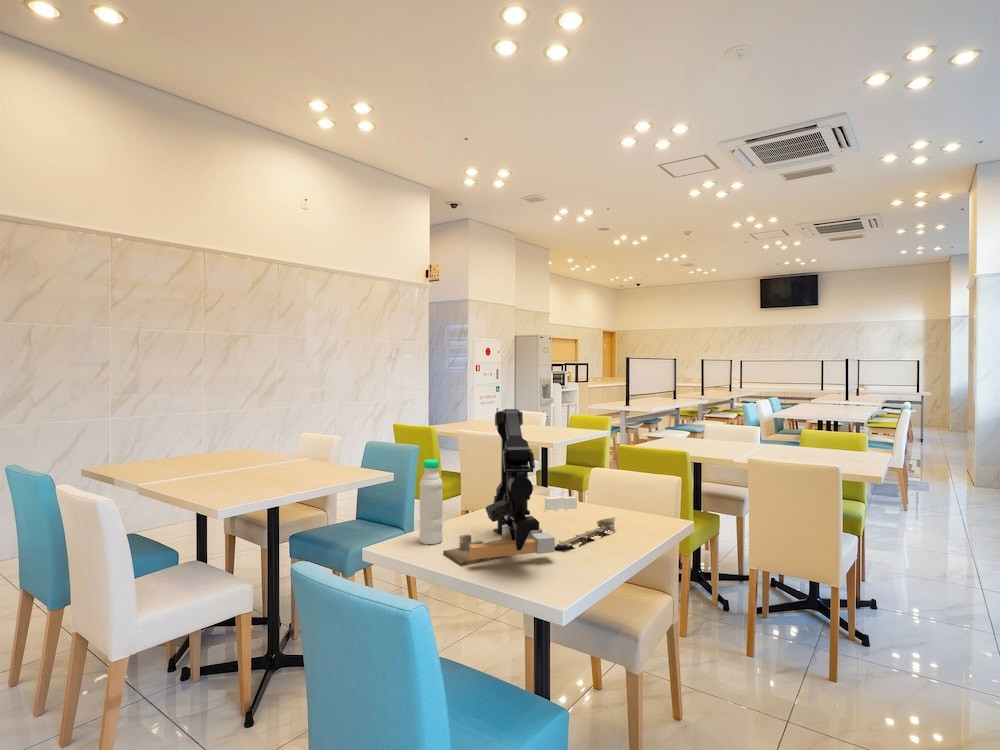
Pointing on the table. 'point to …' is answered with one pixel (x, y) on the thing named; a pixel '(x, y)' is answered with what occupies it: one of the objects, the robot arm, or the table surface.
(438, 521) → the water bottle
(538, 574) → the table surface
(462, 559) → the cable board
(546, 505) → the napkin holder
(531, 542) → the tan bar grey block
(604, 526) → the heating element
